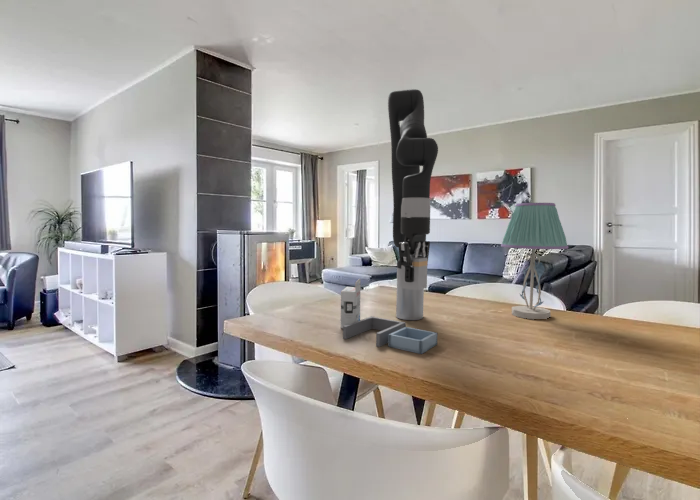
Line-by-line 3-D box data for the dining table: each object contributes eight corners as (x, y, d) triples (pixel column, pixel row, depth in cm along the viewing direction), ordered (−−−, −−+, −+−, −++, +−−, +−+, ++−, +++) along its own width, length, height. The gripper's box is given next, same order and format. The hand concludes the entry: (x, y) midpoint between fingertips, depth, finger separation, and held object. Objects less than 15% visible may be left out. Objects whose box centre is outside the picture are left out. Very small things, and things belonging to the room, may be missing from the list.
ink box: (345, 321, 125) (346, 277, 124) (360, 322, 124) (361, 277, 123) (340, 328, 116) (340, 281, 115) (355, 329, 115) (356, 281, 114)
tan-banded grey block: (409, 285, 103) (410, 256, 102) (427, 287, 100) (427, 257, 99) (400, 288, 99) (401, 257, 98) (418, 290, 96) (419, 258, 95)
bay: (371, 327, 118) (371, 316, 117) (405, 334, 111) (405, 322, 110) (343, 338, 106) (343, 326, 106) (379, 346, 99) (379, 333, 99)
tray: (405, 337, 107) (405, 326, 107) (437, 344, 101) (437, 332, 101) (388, 346, 99) (388, 334, 99) (421, 354, 94) (421, 341, 93)
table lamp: (578, 323, 125) (584, 202, 122) (512, 322, 125) (517, 201, 122) (545, 308, 146) (550, 205, 144) (489, 308, 146) (493, 205, 144)
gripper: (414, 216, 106) (413, 276, 107) (389, 215, 95) (387, 282, 96) (440, 216, 102) (438, 279, 103) (416, 215, 90) (414, 285, 91)
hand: (414, 280), depth 99 cm, fingers closed on tan-banded grey block, 5 cm apart
